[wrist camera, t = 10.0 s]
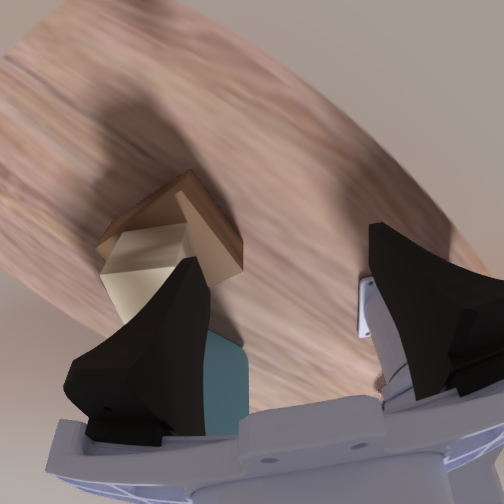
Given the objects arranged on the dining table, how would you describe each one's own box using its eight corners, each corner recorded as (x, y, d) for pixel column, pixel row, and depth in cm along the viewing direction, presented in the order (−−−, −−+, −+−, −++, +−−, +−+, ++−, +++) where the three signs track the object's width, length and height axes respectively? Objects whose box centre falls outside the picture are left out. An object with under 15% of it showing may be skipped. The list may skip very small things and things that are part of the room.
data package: (128, 318, 30) (96, 425, 20) (149, 293, 28) (115, 410, 18) (223, 368, 34) (219, 467, 25) (249, 349, 33) (251, 456, 23)
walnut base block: (191, 167, 22) (181, 190, 18) (243, 239, 25) (243, 271, 22) (112, 221, 24) (94, 249, 21) (165, 279, 27) (156, 312, 24)
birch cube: (187, 222, 20) (174, 266, 16) (202, 278, 22) (195, 326, 18) (122, 232, 20) (99, 274, 16) (143, 284, 22) (127, 330, 19)
